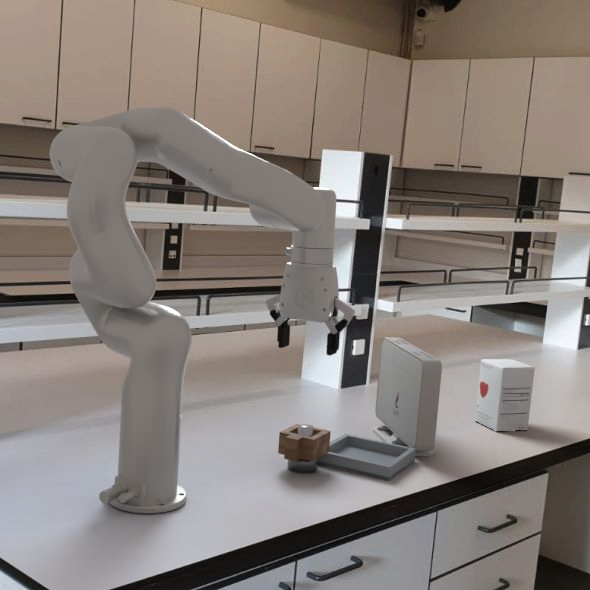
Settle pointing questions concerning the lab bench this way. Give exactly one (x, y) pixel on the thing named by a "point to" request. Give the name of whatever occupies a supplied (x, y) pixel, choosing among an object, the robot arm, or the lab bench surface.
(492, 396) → the supplement box
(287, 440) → the collar
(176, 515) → the lab bench surface
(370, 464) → the tray
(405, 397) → the network device
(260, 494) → the lab bench surface
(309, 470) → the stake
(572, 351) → the lab bench surface
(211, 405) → the lab bench surface
